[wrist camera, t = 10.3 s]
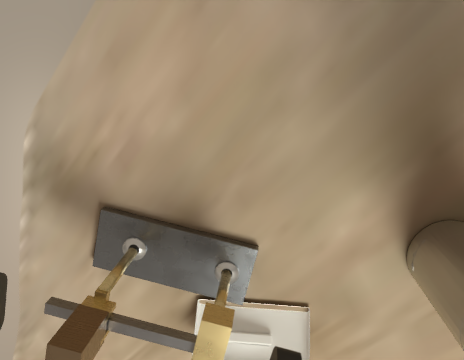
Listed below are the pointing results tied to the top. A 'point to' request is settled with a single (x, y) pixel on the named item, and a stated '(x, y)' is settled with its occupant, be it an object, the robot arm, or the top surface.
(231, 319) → the dividers frame
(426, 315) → the top surface
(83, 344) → the block
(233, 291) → the bolt plate
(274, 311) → the light switch
